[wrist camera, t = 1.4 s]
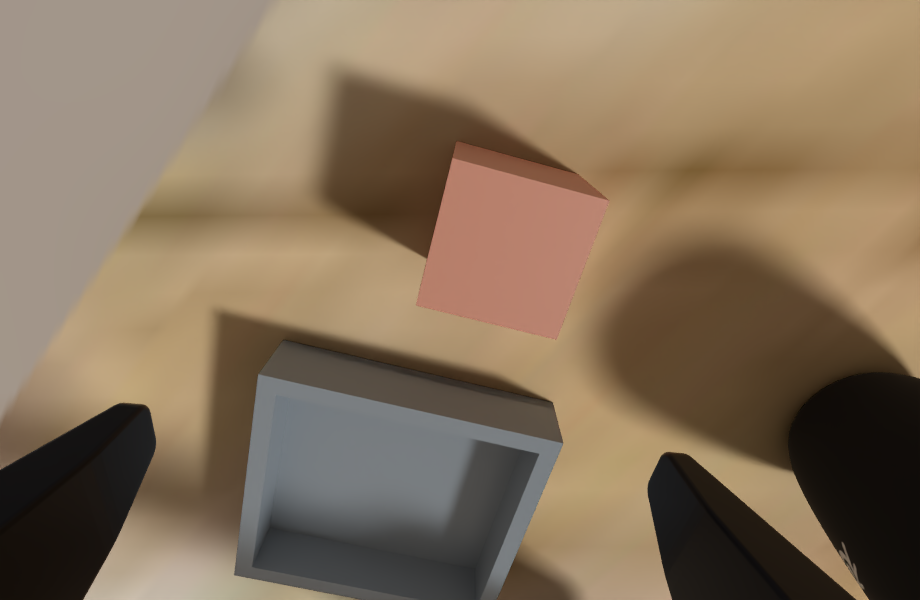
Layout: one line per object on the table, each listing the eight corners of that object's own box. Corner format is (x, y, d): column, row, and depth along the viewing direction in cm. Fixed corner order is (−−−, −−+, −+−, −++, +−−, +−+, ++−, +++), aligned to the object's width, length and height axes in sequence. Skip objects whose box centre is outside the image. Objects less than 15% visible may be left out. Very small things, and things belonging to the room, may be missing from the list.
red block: (577, 173, 20) (609, 200, 16) (538, 286, 22) (556, 339, 18) (456, 140, 20) (452, 158, 15) (427, 258, 22) (415, 305, 17)
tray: (552, 402, 24) (563, 443, 22) (484, 572, 29) (486, 623, 26) (283, 339, 23) (258, 374, 20) (257, 526, 28) (234, 575, 25)
